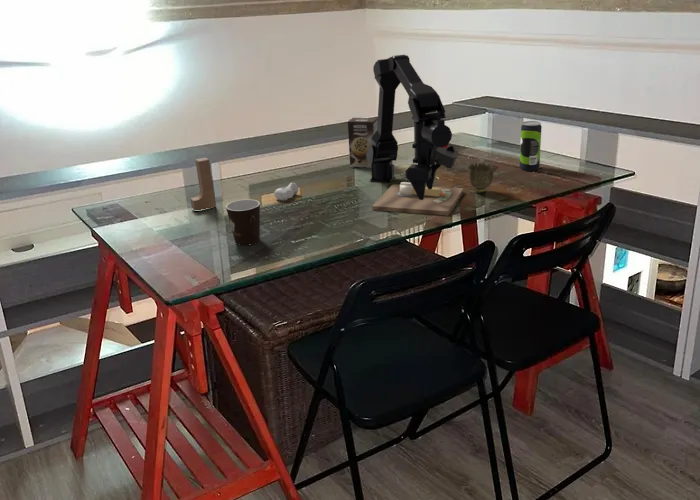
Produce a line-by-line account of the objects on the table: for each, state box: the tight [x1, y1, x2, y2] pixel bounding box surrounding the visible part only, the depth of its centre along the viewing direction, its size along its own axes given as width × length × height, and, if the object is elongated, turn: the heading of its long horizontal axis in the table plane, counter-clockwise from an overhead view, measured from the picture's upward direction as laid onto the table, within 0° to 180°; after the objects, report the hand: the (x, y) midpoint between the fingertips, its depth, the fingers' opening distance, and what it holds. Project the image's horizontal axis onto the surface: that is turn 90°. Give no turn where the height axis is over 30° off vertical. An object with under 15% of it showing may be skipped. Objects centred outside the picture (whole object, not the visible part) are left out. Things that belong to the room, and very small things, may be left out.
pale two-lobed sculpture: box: [273, 182, 299, 201], centre depth 205 cm, size 4×8×5 cm
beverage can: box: [519, 120, 542, 172], centre depth 215 cm, size 6×6×15 cm
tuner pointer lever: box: [399, 181, 446, 196], centre depth 196 cm, size 14×4×3 cm, turn 66°
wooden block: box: [189, 157, 217, 210], centre depth 197 cm, size 7×3×15 cm, turn 121°
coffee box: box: [347, 117, 378, 169], centre depth 229 cm, size 9×6×16 cm
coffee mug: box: [225, 198, 261, 246], centre depth 172 cm, size 12×9×10 cm
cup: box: [467, 162, 495, 194], centre depth 198 cm, size 8×7×8 cm
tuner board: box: [371, 184, 464, 216], centre depth 195 cm, size 22×20×1 cm
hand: (425, 194), depth 185 cm, fingers open, 9 cm apart
